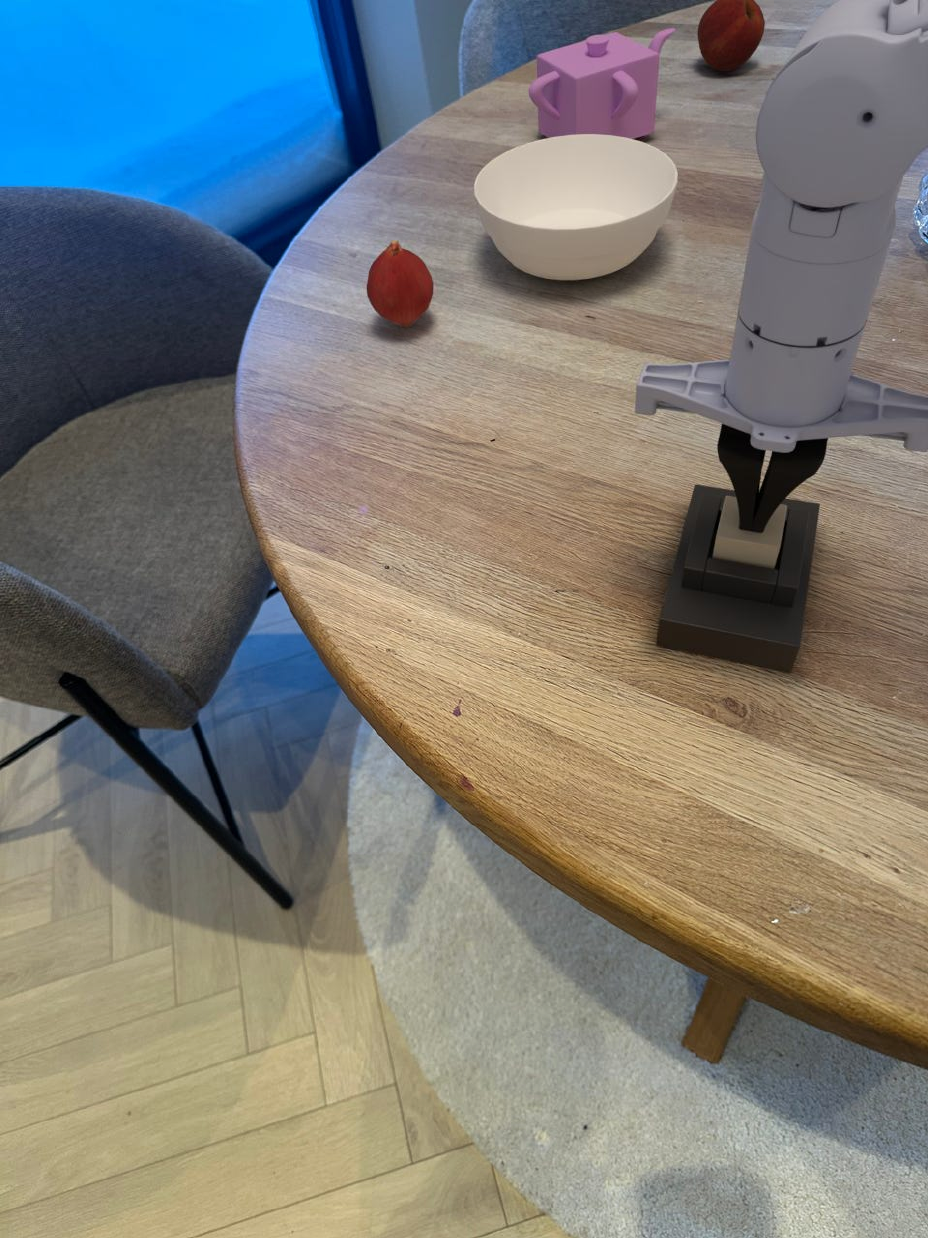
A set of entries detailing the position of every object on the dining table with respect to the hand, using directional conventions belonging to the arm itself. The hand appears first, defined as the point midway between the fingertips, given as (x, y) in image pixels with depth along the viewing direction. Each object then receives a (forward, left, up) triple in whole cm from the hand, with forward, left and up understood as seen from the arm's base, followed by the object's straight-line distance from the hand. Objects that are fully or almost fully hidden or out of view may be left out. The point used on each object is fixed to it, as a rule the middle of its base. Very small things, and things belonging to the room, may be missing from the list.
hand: (752, 519), depth 50 cm
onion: (+26, -31, -6) cm, 41 cm away
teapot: (+8, -67, -6) cm, 68 cm away
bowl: (+11, -42, -6) cm, 44 cm away
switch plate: (0, 0, -6) cm, 6 cm away
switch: (0, 0, -2) cm, 2 cm away
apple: (-7, -85, -6) cm, 86 cm away
